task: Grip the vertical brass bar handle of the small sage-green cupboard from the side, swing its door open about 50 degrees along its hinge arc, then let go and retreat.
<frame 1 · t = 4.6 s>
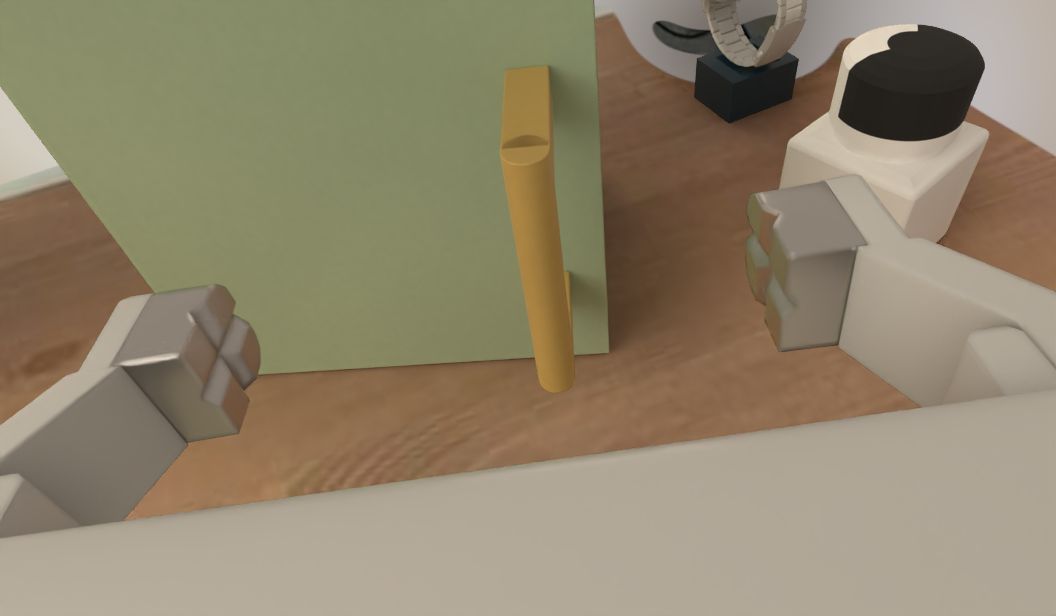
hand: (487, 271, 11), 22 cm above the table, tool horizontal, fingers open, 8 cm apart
cupboard door: (337, 252, 28), point 11 cm above the table, hinge at 0.0°
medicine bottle: (854, 239, 41), on the table
watch: (740, 99, 52), on the table
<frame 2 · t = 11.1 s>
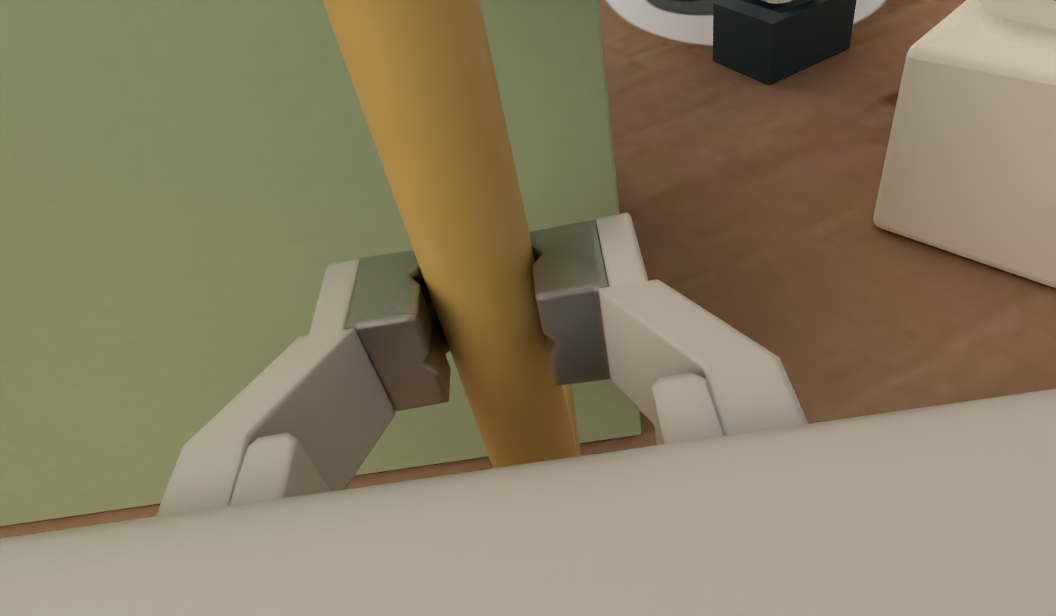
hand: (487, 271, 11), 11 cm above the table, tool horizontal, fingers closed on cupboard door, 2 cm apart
cupboard door: (41, 278, 13), point 11 cm above the table, hinge at 0.0°, touching gripper
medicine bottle: (1009, 216, 26), on the table
watch: (777, 57, 38), on the table
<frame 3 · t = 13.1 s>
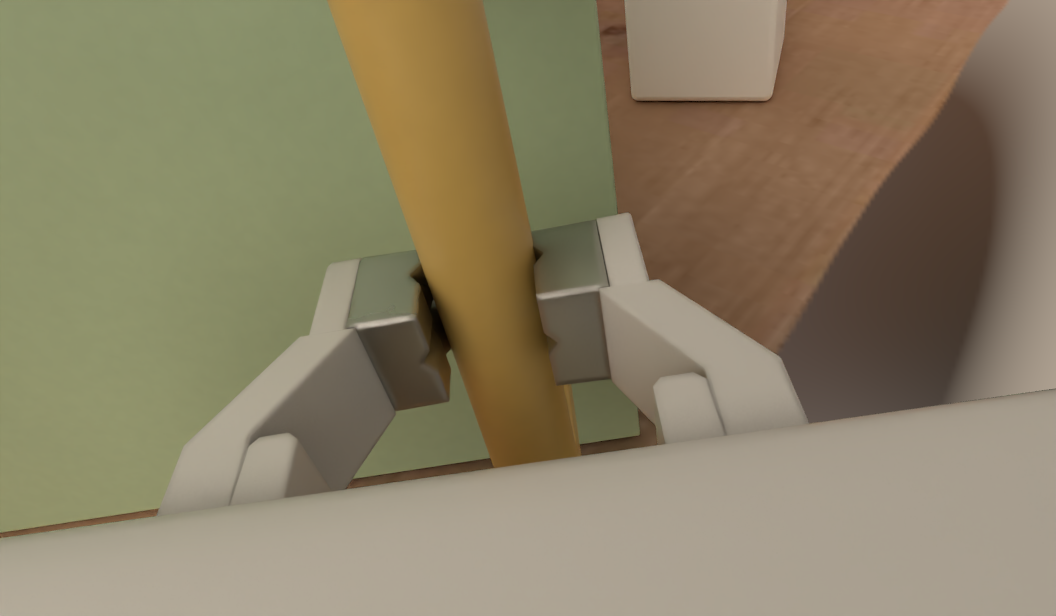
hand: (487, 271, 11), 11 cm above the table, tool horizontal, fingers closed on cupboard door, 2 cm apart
cupboard door: (40, 280, 13), point 11 cm above the table, hinge at 26.4°, touching gripper
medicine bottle: (709, 75, 38), on the table
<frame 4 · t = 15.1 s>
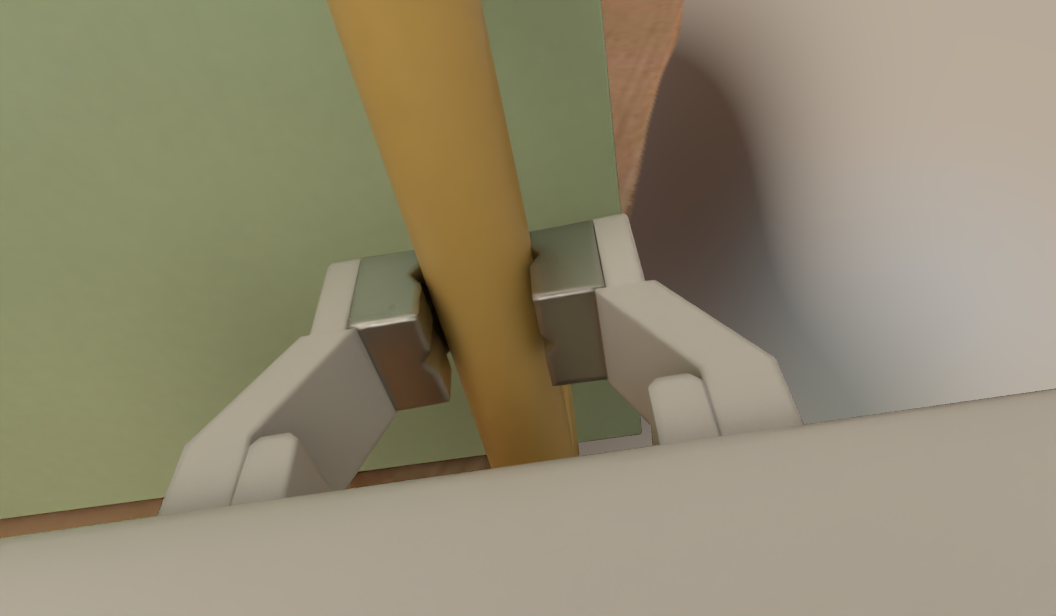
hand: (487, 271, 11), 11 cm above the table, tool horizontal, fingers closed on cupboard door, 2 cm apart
cupboard door: (37, 264, 13), point 11 cm above the table, hinge at 50.4°, touching gripper
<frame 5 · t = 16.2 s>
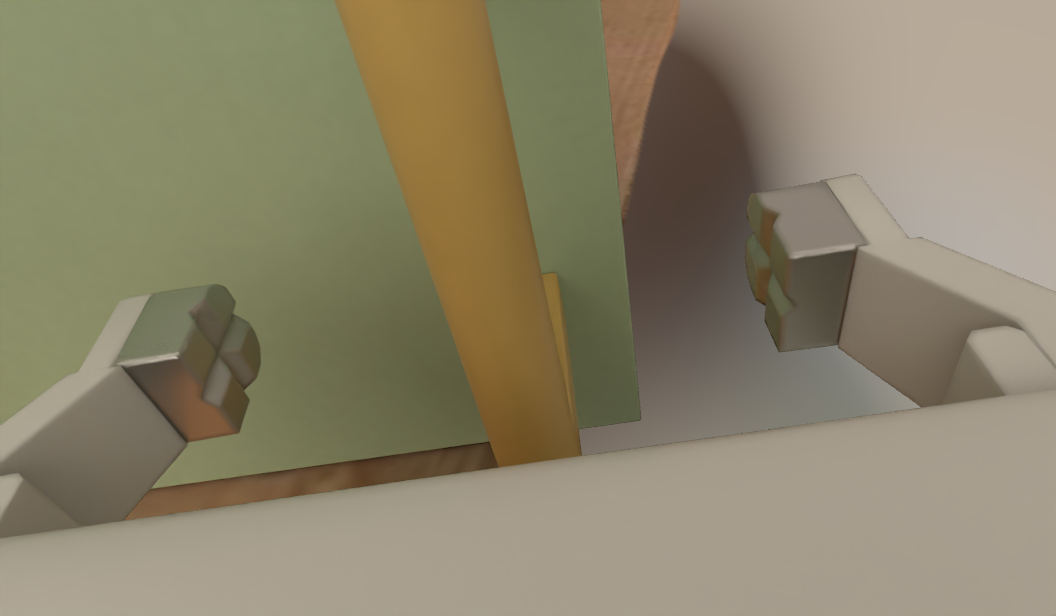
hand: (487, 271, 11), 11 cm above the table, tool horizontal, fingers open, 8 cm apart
cupboard door: (42, 252, 13), point 11 cm above the table, hinge at 50.4°
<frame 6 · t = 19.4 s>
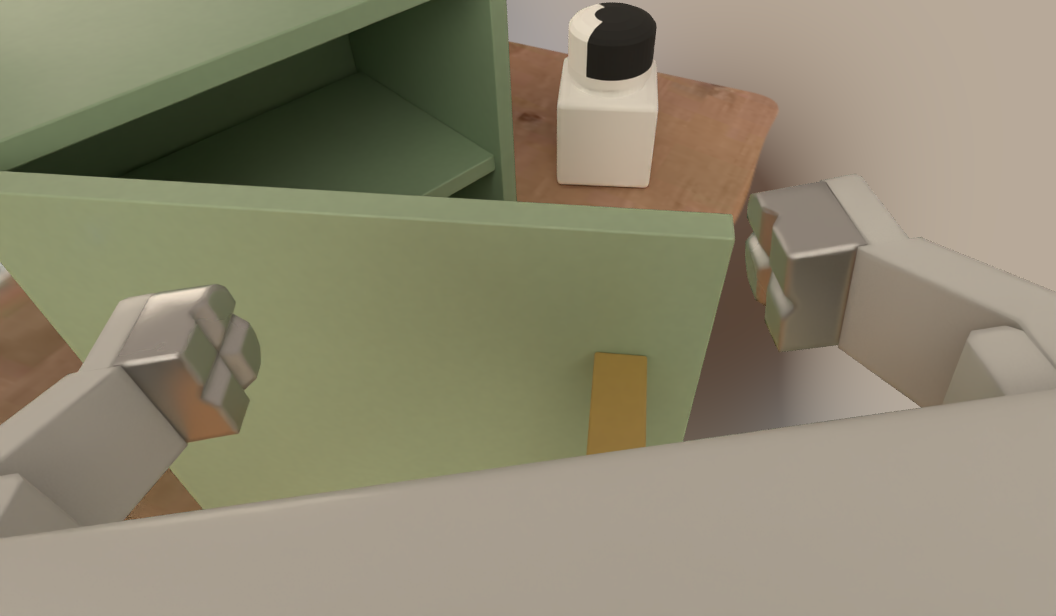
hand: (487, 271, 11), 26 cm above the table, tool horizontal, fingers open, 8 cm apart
cupboard: (320, 322, 45), on the table
cupboard door: (368, 490, 25), point 11 cm above the table, hinge at 50.4°
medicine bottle: (603, 162, 56), on the table
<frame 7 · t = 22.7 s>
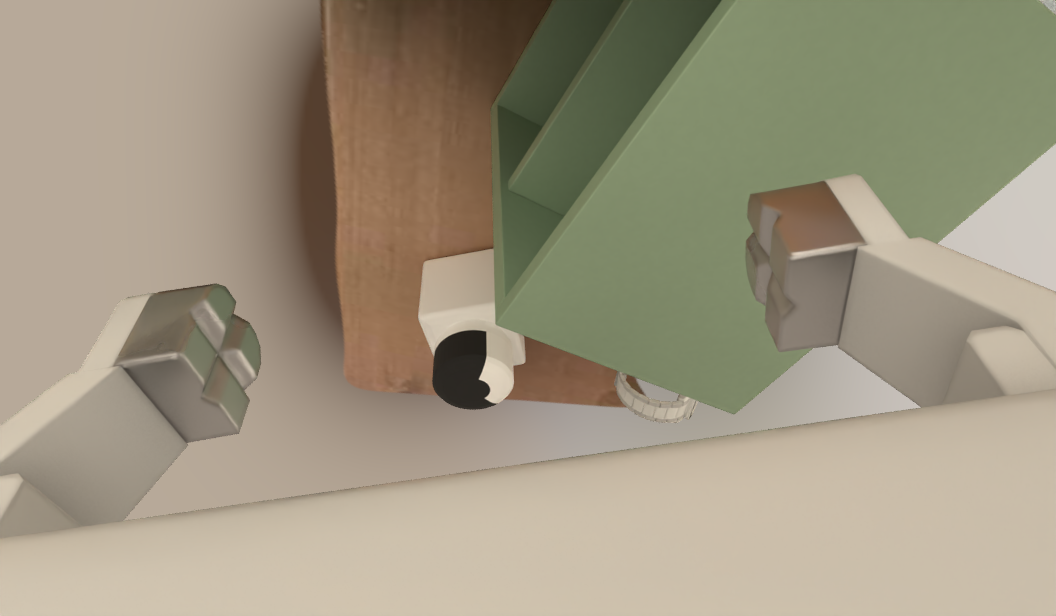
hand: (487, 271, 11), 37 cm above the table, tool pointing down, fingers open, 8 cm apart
cupboard: (670, 22, 45), on the table
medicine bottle: (474, 282, 60), on the table
watch: (647, 317, 64), on the table
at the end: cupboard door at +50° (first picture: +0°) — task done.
